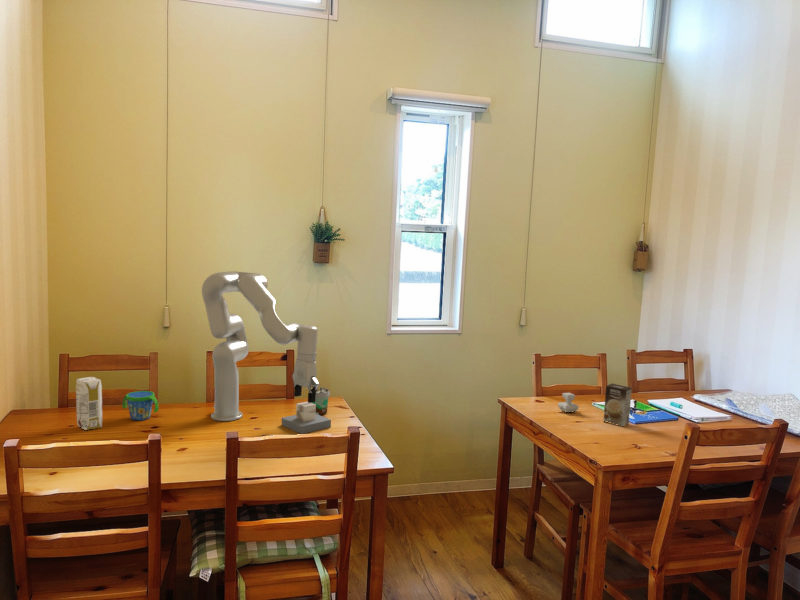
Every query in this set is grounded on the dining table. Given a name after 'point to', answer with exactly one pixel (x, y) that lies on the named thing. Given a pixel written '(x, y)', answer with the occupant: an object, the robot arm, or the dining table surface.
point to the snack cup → (140, 404)
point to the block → (305, 411)
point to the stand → (306, 424)
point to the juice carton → (89, 403)
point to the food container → (321, 401)
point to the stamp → (568, 403)
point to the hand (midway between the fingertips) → (304, 399)
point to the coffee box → (617, 404)
